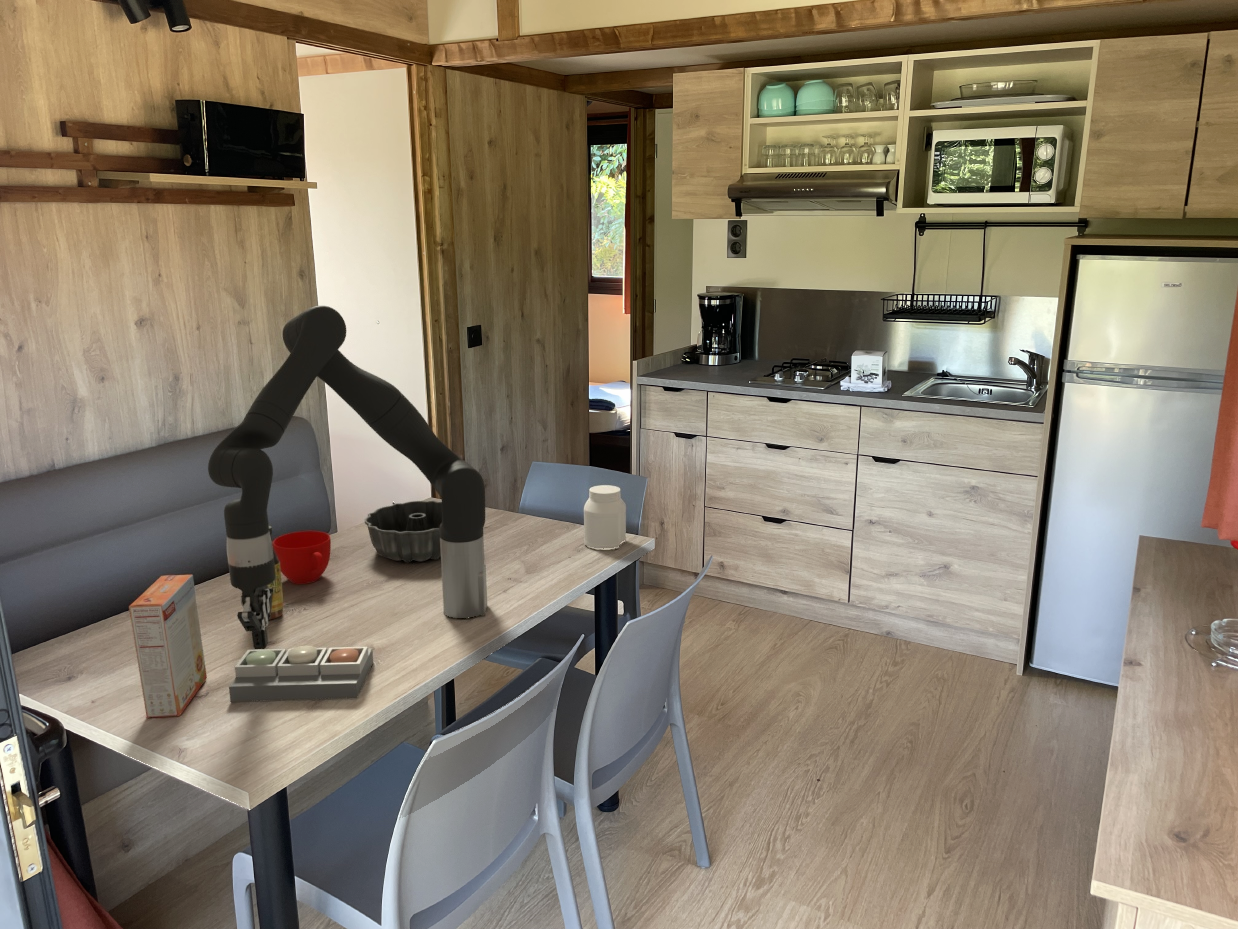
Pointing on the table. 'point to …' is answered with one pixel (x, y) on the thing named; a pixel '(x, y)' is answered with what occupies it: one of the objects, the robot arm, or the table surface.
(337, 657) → the terracotta button
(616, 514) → the jar
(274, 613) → the sauce bottle
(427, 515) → the bundt pan
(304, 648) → the cream button
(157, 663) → the cracker box
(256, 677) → the button panel
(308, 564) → the ceramic cup
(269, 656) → the sage button
